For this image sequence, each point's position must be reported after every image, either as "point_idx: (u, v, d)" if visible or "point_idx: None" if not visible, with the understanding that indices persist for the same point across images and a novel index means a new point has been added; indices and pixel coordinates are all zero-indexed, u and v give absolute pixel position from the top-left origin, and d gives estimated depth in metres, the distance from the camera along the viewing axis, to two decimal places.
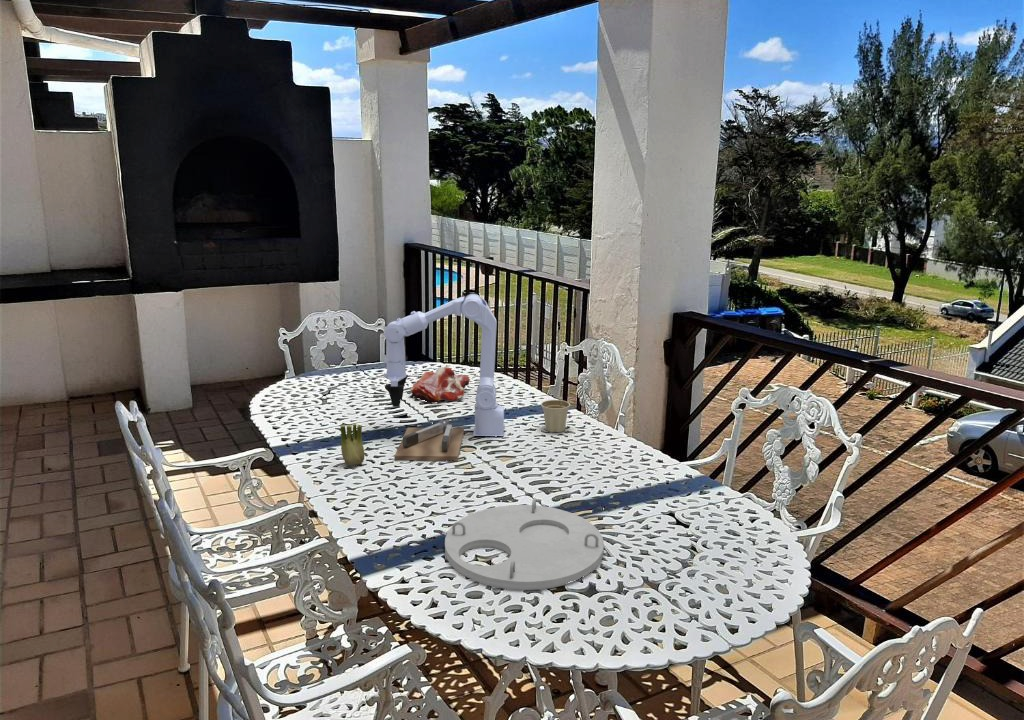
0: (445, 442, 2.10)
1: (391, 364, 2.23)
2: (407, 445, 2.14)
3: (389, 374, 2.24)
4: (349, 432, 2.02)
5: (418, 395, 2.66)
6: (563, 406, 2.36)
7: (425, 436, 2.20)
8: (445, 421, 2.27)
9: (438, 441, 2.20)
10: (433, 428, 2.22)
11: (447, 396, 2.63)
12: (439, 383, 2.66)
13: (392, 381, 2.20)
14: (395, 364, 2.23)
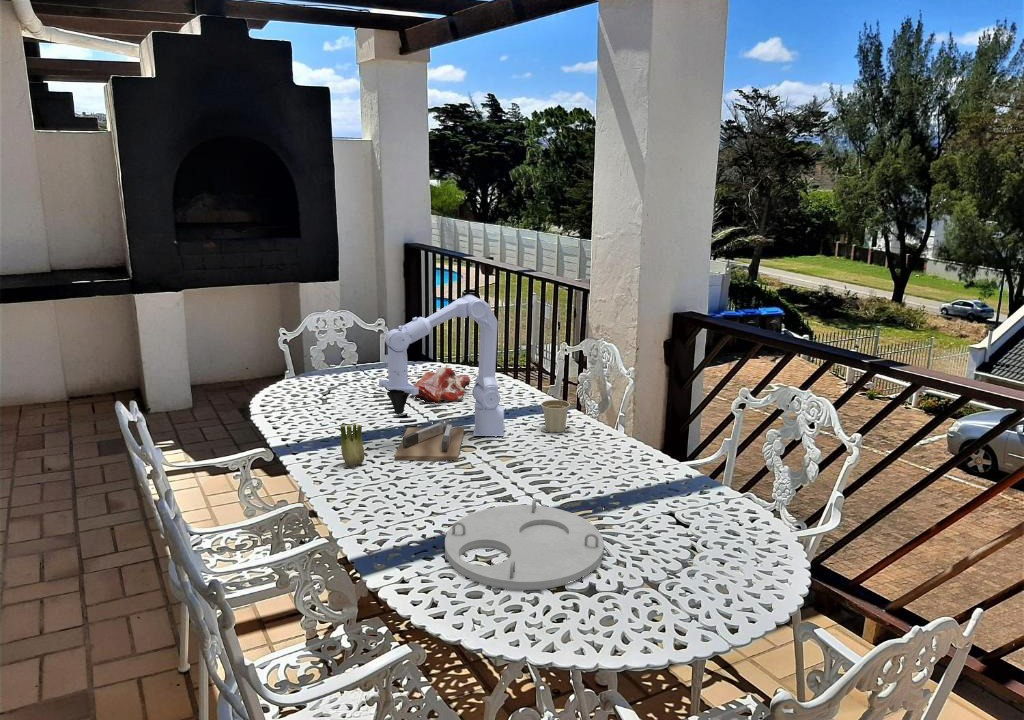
0: (445, 442, 2.10)
1: (401, 374, 2.14)
2: (407, 445, 2.14)
3: (398, 385, 2.14)
4: (349, 432, 2.02)
5: (418, 395, 2.66)
6: (563, 406, 2.36)
7: (425, 436, 2.20)
8: (445, 421, 2.27)
9: (438, 441, 2.20)
10: (433, 428, 2.22)
11: (447, 396, 2.62)
12: (439, 383, 2.65)
13: (415, 389, 2.13)
14: (405, 373, 2.15)
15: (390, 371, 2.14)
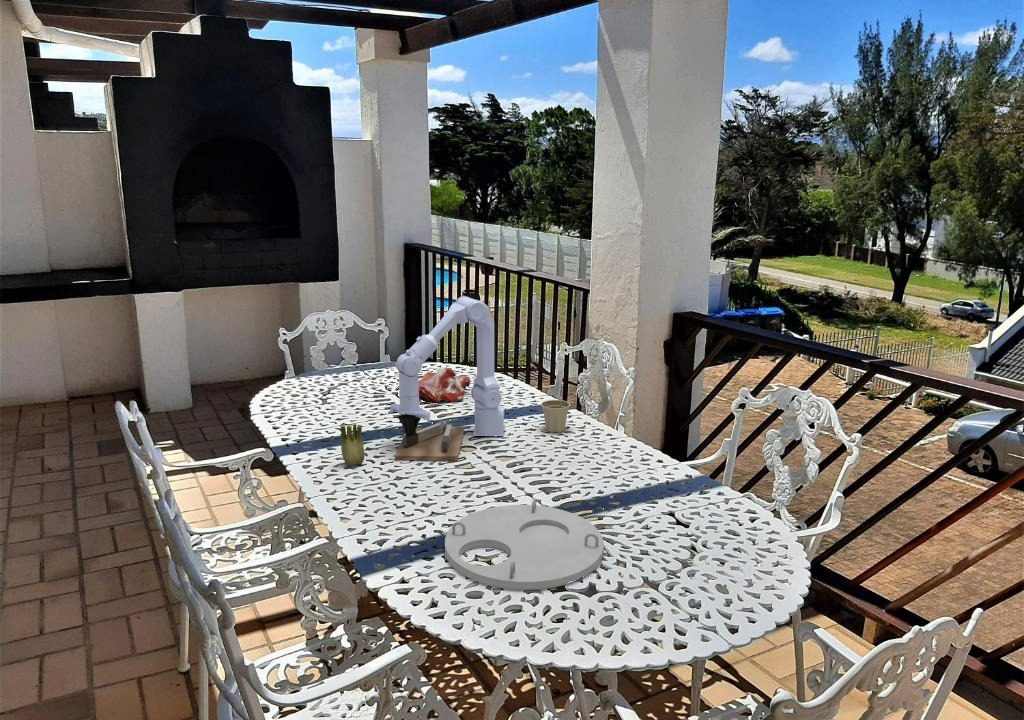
0: (445, 442, 2.10)
1: (413, 398, 2.13)
2: (407, 445, 2.14)
3: (410, 410, 2.13)
4: (349, 432, 2.02)
5: None
6: (563, 406, 2.36)
7: (425, 436, 2.20)
8: (445, 421, 2.27)
9: (438, 441, 2.20)
10: (433, 428, 2.22)
11: (447, 397, 2.62)
12: (439, 384, 2.65)
13: (426, 414, 2.12)
14: (416, 397, 2.14)
15: (401, 396, 2.13)
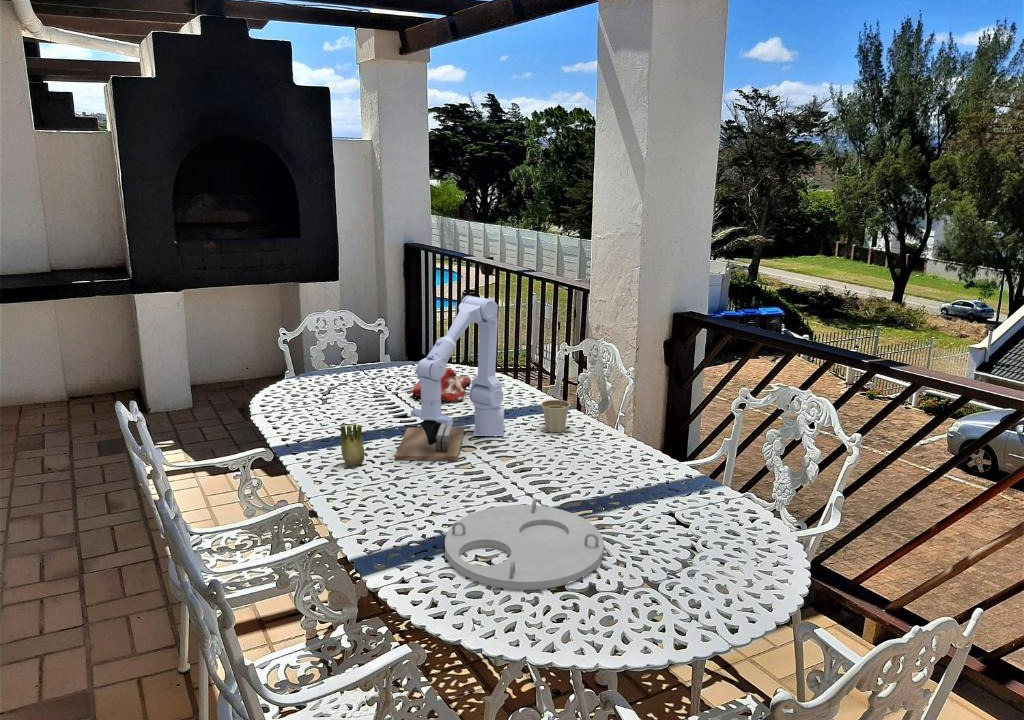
0: (445, 442, 2.10)
1: (435, 404, 2.08)
2: (440, 449, 2.11)
3: (432, 415, 2.09)
4: (349, 432, 2.02)
5: (418, 396, 2.65)
6: (563, 406, 2.36)
7: None
8: None
9: None
10: (444, 429, 2.22)
11: (447, 397, 2.61)
12: None
13: (449, 420, 2.07)
14: (438, 403, 2.09)
15: (423, 401, 2.08)
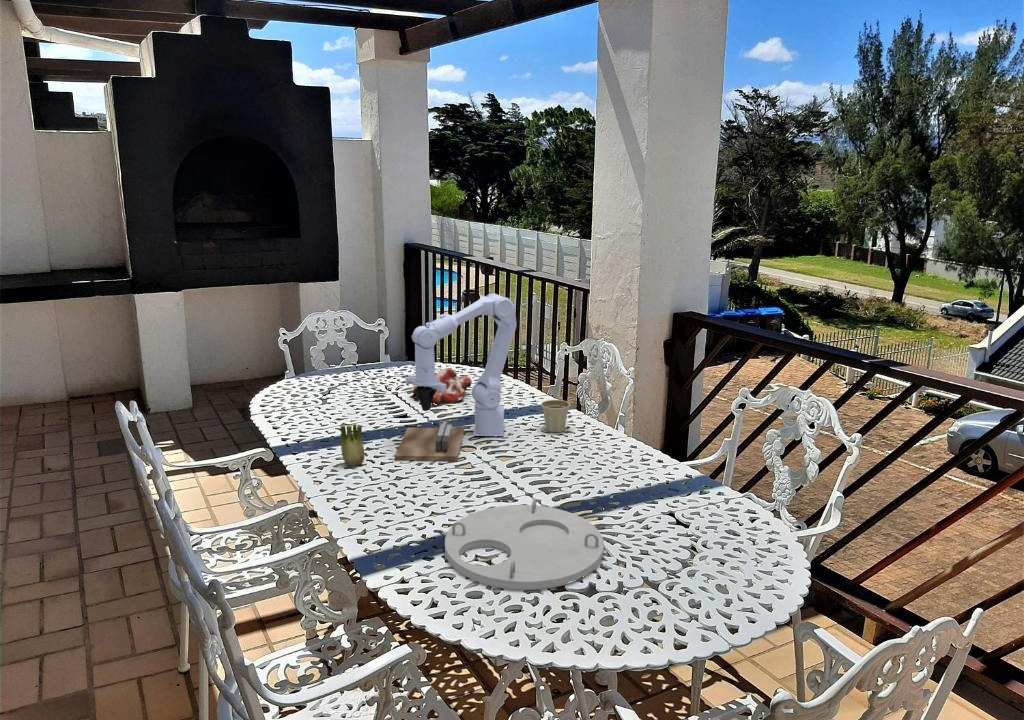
0: (445, 442, 2.10)
1: (429, 370, 2.15)
2: (440, 449, 2.11)
3: (426, 381, 2.16)
4: (349, 432, 2.02)
5: None
6: (563, 406, 2.36)
7: None
8: (445, 421, 2.27)
9: None
10: (444, 429, 2.22)
11: (447, 397, 2.61)
12: None
13: (443, 386, 2.14)
14: (432, 369, 2.16)
15: (418, 368, 2.15)
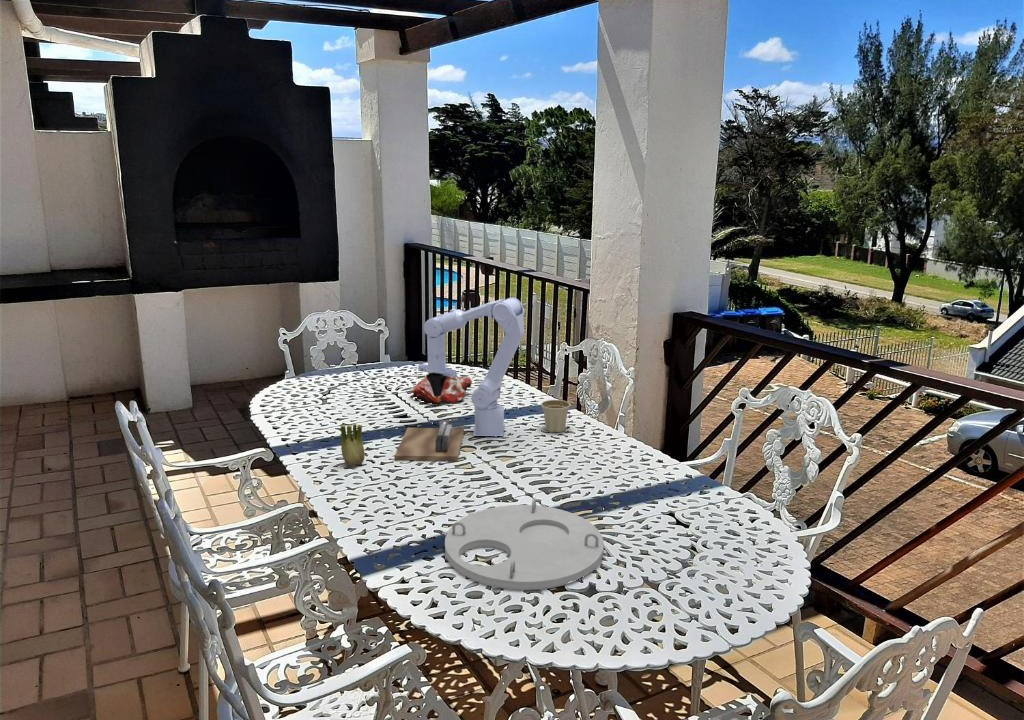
0: (445, 442, 2.10)
1: (440, 358, 2.29)
2: (440, 449, 2.11)
3: (437, 368, 2.30)
4: (349, 432, 2.02)
5: (419, 396, 2.65)
6: (563, 406, 2.36)
7: None
8: (445, 421, 2.27)
9: None
10: (444, 429, 2.22)
11: (447, 398, 2.61)
12: None
13: (453, 372, 2.28)
14: (443, 357, 2.30)
15: (430, 355, 2.30)
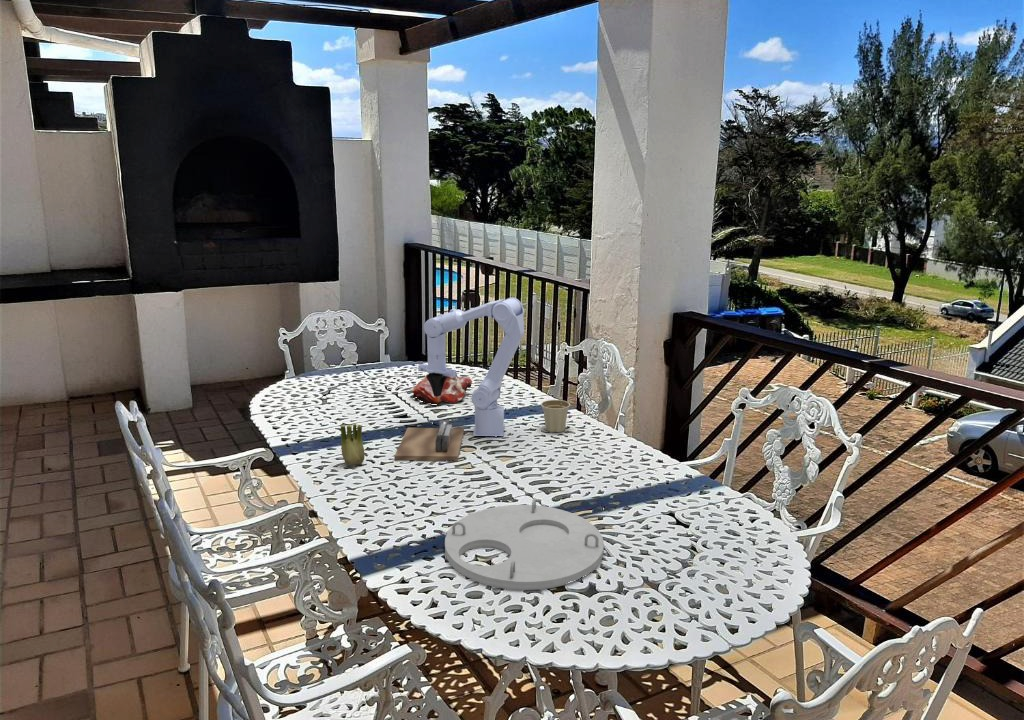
0: (445, 442, 2.10)
1: (440, 358, 2.29)
2: (440, 449, 2.11)
3: (437, 368, 2.30)
4: (349, 432, 2.02)
5: (419, 396, 2.65)
6: (563, 406, 2.36)
7: None
8: (445, 421, 2.27)
9: None
10: (444, 429, 2.22)
11: (447, 398, 2.60)
12: None
13: (453, 372, 2.28)
14: (443, 357, 2.30)
15: (430, 355, 2.30)
